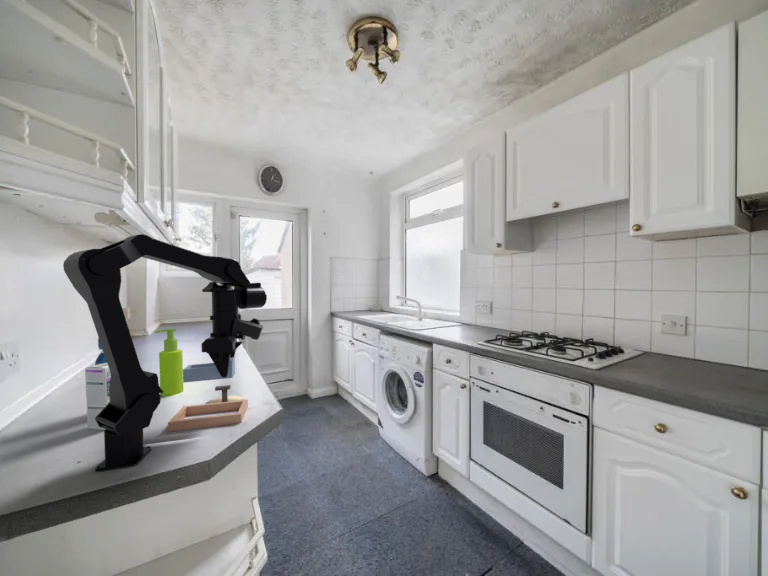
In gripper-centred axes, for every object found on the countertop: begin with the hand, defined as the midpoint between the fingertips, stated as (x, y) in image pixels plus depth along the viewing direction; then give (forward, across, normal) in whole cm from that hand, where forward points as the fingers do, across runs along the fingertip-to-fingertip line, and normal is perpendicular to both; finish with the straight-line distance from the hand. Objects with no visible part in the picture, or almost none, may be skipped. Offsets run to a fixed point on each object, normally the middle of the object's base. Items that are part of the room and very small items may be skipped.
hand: (226, 374), depth 79 cm
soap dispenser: (+11, +25, +21) cm, 34 cm away
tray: (+11, 0, +4) cm, 11 cm away
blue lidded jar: (+11, +15, +30) cm, 35 cm away
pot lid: (+11, +11, +3) cm, 16 cm away
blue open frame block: (0, 0, +4) cm, 4 cm away
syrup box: (+11, +5, +27) cm, 29 cm away
